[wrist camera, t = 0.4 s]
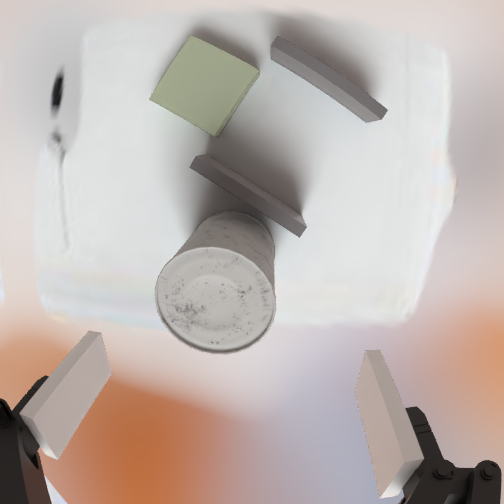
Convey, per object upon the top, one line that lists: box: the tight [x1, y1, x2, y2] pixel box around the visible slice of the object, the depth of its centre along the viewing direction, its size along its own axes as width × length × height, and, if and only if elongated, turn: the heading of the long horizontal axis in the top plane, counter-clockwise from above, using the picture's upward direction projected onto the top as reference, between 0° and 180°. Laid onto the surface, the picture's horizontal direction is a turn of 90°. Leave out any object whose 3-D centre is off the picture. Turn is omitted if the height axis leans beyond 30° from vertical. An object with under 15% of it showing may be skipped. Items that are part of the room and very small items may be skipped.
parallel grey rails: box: [190, 36, 388, 237], centre depth 29 cm, size 12×15×5 cm
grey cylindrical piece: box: [155, 211, 276, 355], centre depth 30 cm, size 10×10×12 cm
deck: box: [149, 35, 259, 137], centre depth 29 cm, size 8×8×2 cm
